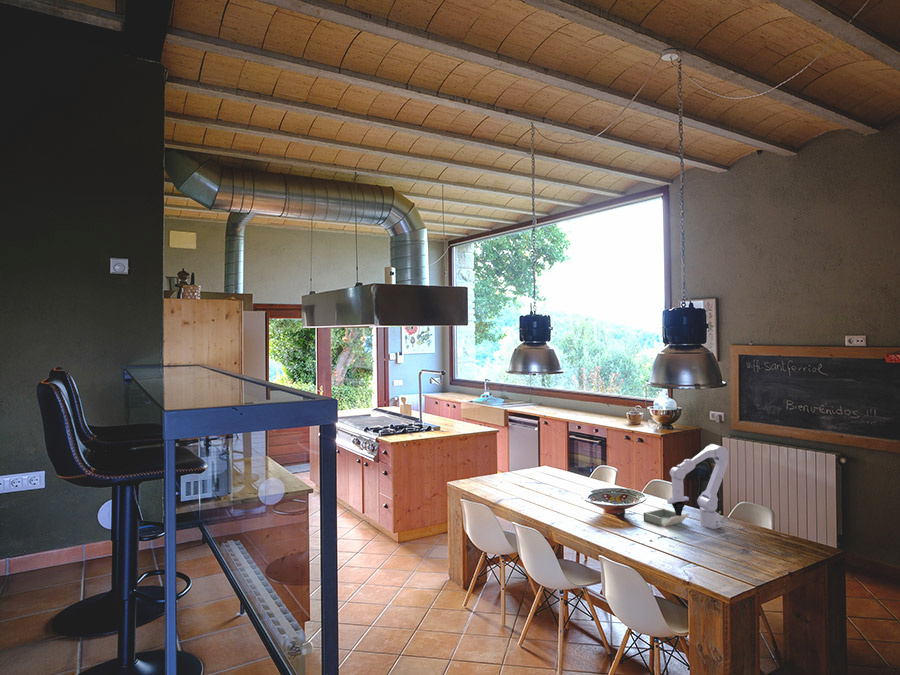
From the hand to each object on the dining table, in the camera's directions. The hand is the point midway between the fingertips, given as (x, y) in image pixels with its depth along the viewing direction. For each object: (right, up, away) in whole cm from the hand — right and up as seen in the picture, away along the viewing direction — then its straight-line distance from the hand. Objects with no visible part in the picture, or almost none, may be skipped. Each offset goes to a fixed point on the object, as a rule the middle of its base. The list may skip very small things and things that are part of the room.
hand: (678, 515), depth 289 cm
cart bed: (-5, -7, +9) cm, 13 cm away
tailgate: (-1, -3, +1) cm, 4 cm away
